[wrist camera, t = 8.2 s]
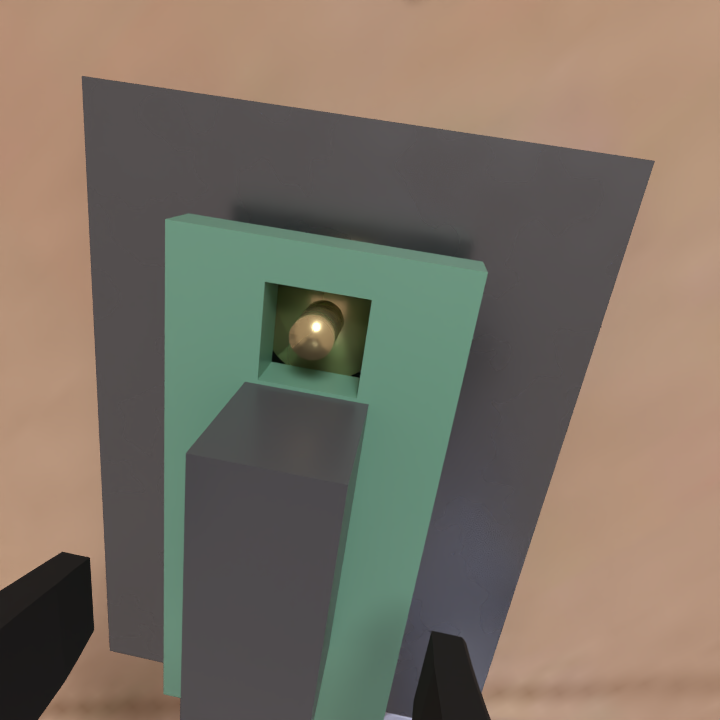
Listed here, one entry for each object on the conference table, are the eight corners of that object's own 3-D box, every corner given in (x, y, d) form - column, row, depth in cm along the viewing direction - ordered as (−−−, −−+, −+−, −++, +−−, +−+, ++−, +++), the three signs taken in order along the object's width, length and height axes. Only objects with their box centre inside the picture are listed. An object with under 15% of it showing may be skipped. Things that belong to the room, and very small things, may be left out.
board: (381, 706, 18) (366, 875, 14) (179, 661, 18) (105, 811, 14) (482, 261, 12) (508, 317, 8) (188, 213, 13) (69, 242, 9)
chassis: (465, 681, 22) (474, 824, 17) (136, 610, 23) (59, 727, 18) (625, 160, 14) (719, 162, 10) (124, 85, 15) (-12, 55, 11)
